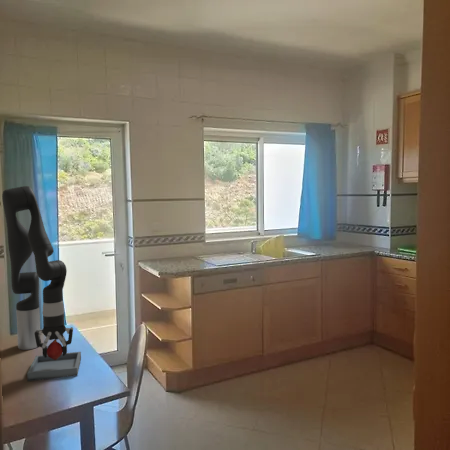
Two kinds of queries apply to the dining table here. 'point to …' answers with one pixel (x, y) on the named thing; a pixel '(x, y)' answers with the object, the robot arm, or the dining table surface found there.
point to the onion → (54, 350)
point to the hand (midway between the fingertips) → (55, 355)
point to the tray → (54, 367)
